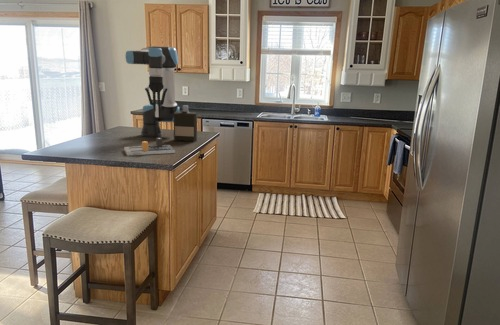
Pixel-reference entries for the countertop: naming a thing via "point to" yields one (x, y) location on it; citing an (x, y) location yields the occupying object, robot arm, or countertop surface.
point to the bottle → (185, 125)
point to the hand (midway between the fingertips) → (156, 116)
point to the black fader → (159, 142)
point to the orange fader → (144, 145)
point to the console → (151, 150)
